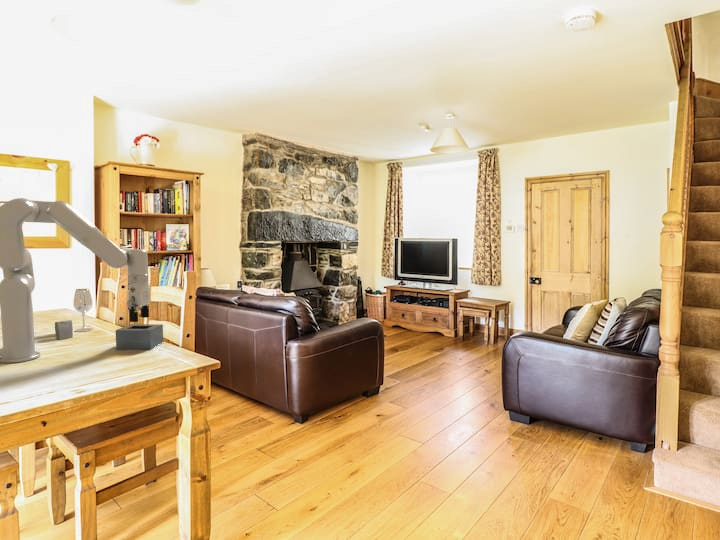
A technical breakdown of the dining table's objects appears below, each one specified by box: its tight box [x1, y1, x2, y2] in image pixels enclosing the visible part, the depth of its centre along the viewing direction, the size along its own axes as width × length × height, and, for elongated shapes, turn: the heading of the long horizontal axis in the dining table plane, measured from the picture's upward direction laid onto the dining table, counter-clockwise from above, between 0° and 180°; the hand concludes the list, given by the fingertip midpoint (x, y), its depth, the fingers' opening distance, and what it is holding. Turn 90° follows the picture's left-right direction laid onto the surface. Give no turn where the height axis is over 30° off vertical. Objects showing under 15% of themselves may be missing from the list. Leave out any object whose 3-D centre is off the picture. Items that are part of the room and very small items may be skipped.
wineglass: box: [73, 288, 94, 333], centre depth 219 cm, size 8×8×20 cm
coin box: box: [115, 323, 164, 351], centre depth 190 cm, size 14×12×8 cm
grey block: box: [54, 319, 74, 341], centre depth 203 cm, size 7×9×8 cm
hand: (139, 319), depth 189 cm, fingers open, 9 cm apart
